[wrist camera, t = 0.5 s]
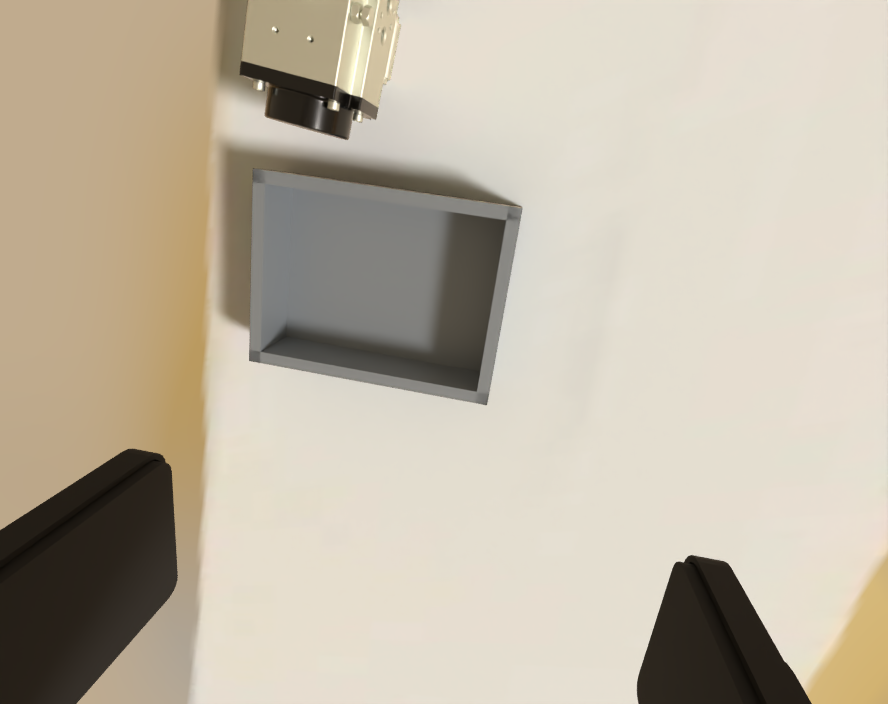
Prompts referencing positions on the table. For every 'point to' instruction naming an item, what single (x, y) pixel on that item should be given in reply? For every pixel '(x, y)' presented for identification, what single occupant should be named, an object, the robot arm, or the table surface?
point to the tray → (379, 283)
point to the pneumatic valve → (320, 59)
